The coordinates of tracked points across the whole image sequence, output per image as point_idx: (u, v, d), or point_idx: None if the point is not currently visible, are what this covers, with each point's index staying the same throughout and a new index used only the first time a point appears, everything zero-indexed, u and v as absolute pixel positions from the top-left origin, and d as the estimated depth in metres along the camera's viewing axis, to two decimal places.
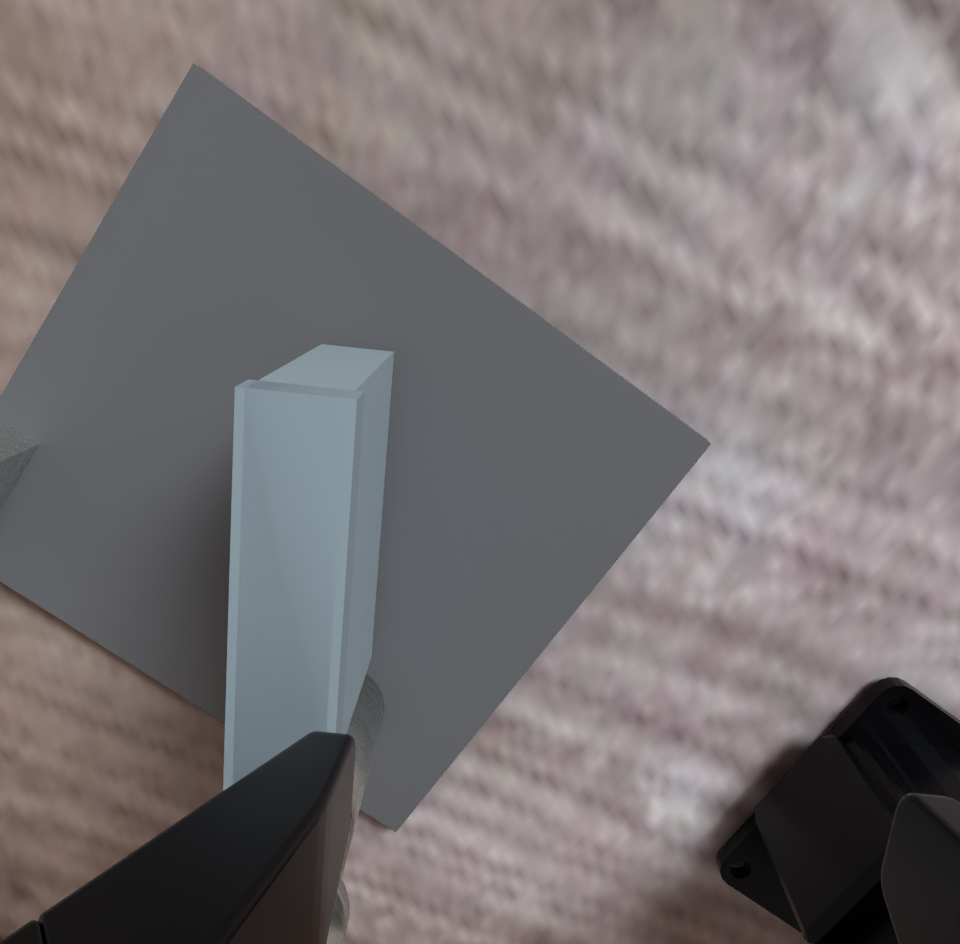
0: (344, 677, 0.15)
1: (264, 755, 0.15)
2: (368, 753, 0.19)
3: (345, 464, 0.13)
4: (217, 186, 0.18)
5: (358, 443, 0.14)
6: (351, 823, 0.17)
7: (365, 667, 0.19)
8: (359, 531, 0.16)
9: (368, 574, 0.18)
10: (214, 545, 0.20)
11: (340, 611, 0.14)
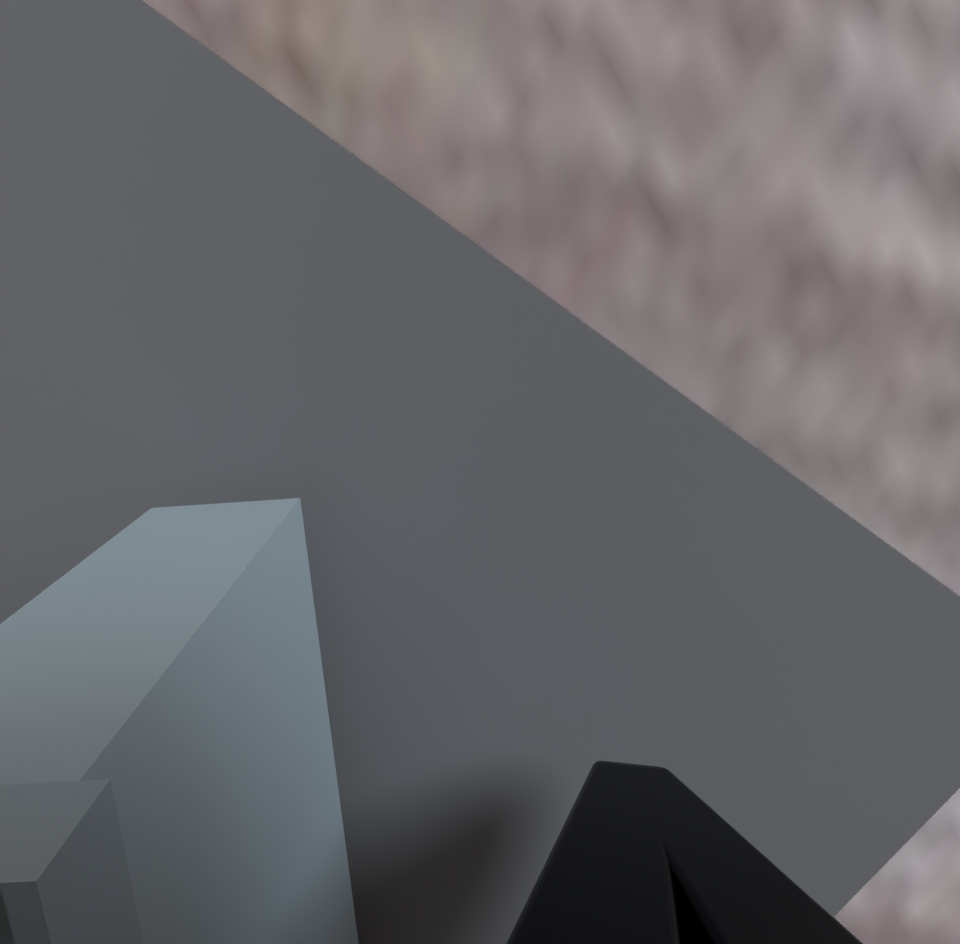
0: None
1: None
2: None
3: None
4: (69, 171, 0.09)
5: None
6: None
7: None
8: None
9: None
10: None
11: None
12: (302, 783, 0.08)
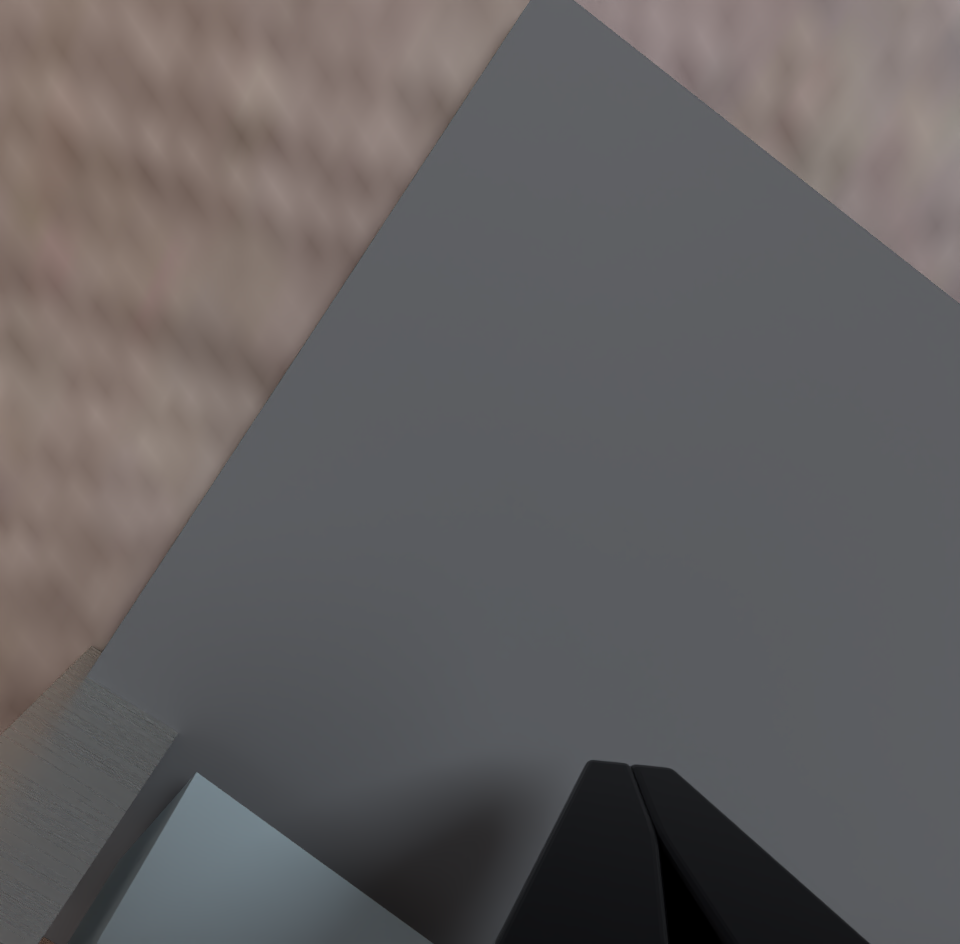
0: None
1: None
2: None
3: None
4: (572, 240, 0.09)
5: None
6: None
7: None
8: None
9: None
10: (504, 910, 0.11)
11: None
12: None
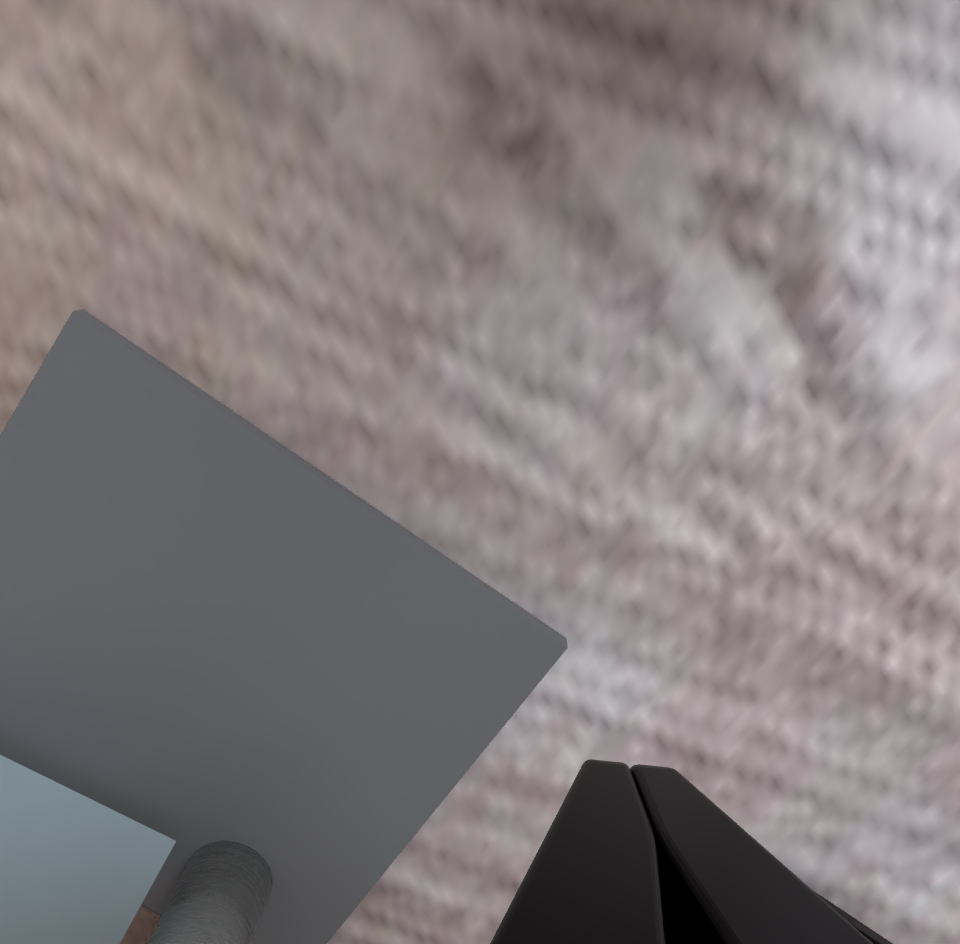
0: None
1: None
2: (244, 942, 0.20)
3: None
4: (98, 419, 0.20)
5: None
6: None
7: (152, 863, 0.21)
8: None
9: (44, 834, 0.20)
10: (107, 735, 0.22)
11: None
12: None
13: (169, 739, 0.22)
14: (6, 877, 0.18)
